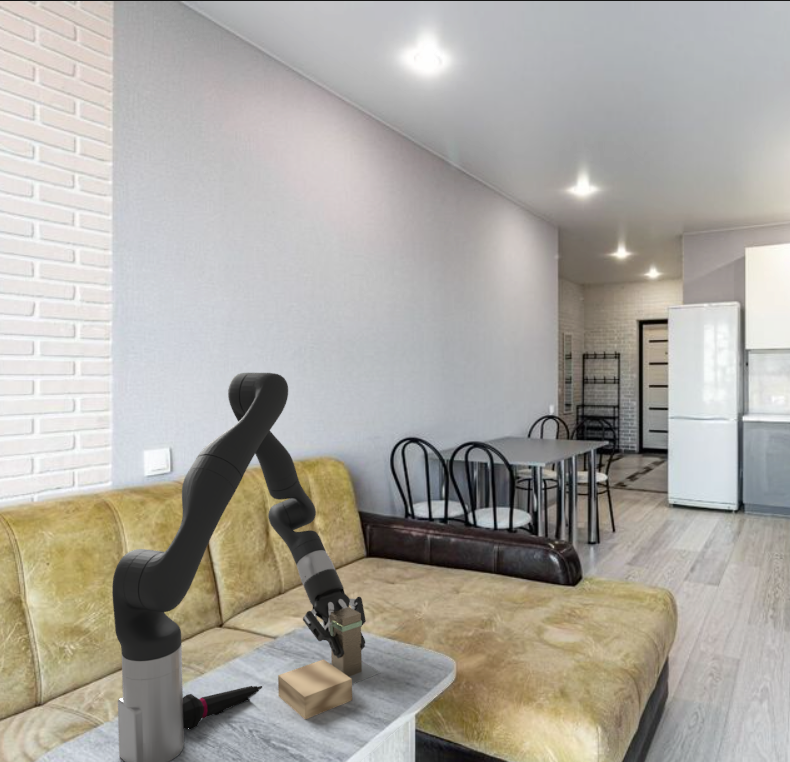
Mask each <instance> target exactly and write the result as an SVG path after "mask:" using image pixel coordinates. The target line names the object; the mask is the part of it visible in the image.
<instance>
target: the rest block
mask: <svg viewBox="0 0 790 762" xmlns="http://www.w3.org/2000/svg"><path fill="white" fill-rule="evenodd" d="M330 663H331V662H328V661H326V660H325V659H320V660H317V661H316V662H312V663H309V664H306V665H303V666H301V667H298V668H296V669H292V670H289V671H285V672H283V673H280V674H278V675H277V683H278V684H277V685H278V689H277V690H278V692H277V693H278V698H280V699H281V700H282V701H283V702H284V703H285V704H287V706H289V707H290V708H291V709H292V710H294V711H295V712H296V713H297V714H298V715H299V716H300V717H302V718H303V719H304V720H308V719H310V718H312V717H315V716H317V715H319V714H323V713H324V712H327V711H330V710H332V709H334V708H337V707H339V706H342V705H344V704H347V703H350V702H351V701H352V700H353V684H352V679H351V678H350V677H348V676H347V675H346V674H344V673H343V672H341V671H340V670H338V669H337V668H335V667H334V666H333V665H331V664H330Z"/></svg>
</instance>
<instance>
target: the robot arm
mask: <svg viewBox="0 0 790 762" xmlns="http://www.w3.org/2000/svg"><path fill="white" fill-rule="evenodd" d="M227 396H228V397H227V398H228V402H229V405H230V408H231V410H232V412H233V414H234V416H235V419H237V423H235V424H234V425H233V426H232V427H230V428H229V429H227V430H226V431H224V432H223V433H222V434H220V435H219V436H217V437H216V438H214V439H213V440H212V441H210V442H209V443H208V444H207V445H206V446H204V448H203V449H201V451H200V452H199V453H198V455H197V456H196V458H195V460H194V462H193V463H192V465H191V466H190V469H189V470H188V472H187V473H186V475H185V476H184V479H183V482H182V487H181V504H182V505H181V506H182V518H181V522H180V526H179V528H178V530H177V532H176V534H175V536H174V538H173V539H172V541H171V543H170V544H169V546H168V548H166V550H165V551H163V550H162V551H161V550H153V549H144V548H136V549H133V550H131V551H128V552H127V553H126V554H124V555H123V556H122V557H121V559H120V560H118V563H117V564H116V567H115V570H114V574H113V578H112V585H111V587H112V588H111V589H112V595H111V596H112V605H113V607H112V608H113V617H114V628H115V635H116V638H117V641H118V642H119V645H120V646H121V678H122V680H121V681H122V682H121V683H122V686H121V687H122V697H119V698H118V700H117V720H118V721H117V723H118V755H119V756H118V757H119V758H121V760H123V761H124V762H171V761H172V760H174V759H175V758H177V757H178V756H179V755H180V754H181V752H182V751H183V749H184V746H185V740H184V739H185V729H184V726H183V697H184V694H183V689H184V688H183V657H182V655H183V654H182V652H183V651H182V647H183V646H182V630H181V628H180V626H179V624H178V623H177V622H175V620H173V619H172V618H170V617H169V616H168V615H167V614H166V613H167V612H170V611H172V610H174V609H175V608H177V607H178V606H179V605H180V604H181V602H183V600H184V598H185V596H186V595H187V594H188V592H189V589H190V588H191V585H192V584H193V581H194V579H195V576H196V574H197V572H198V570H199V567H200V565H201V562H202V560H203V557H204V555H205V553H206V550H207V547H208V545H209V543H210V540H211V538H212V537H213V535H214V532H215V530H216V528H217V526H218V525H219V523H220V520H221V518H222V516H223V514H224V512H225V510H226V508H227V507H228V505H229V503H230V501H231V500H232V498H233V496H234V495H235V493H236V491H237V489H238V488H239V485H240V483H241V482H242V479H243V478H244V475H245V473H246V471H247V469H248V468H249V465H250V464H251V462H252V461H253V458H254V457H255V456H256V458H257V462H258V463H259V465H260V468H261V469H260V470H261V472H262V475H263V479H264V481H265V483H266V487H267V491H268V493H269V495H270V496H271V497H272V498H273V499H274V500H279V502H278V503H276V504H274V505H272V506H271V507H270V508H269V511H268V514H267V517H268V521H269V524H270V525H271V527H272V529H273V530H274V531H275V532H276V533H277V535H278V536H279V537H280V538H281V539H282V540H283V542H284V543H285V544H286V546H287V548H288V550H289V551H290V553H291V556H292V559H293V560H294V562H295V565H296V568H297V571H298V576H299V578H300V582H301V583H302V585H303V588H304V590H305V593H306V596H307V597H308V600H309V603H310V604H311V605H312V609H311V610H308V611H307V612H306V613H305V614H304V616H303V618H302V621H303V623H305V625H306V626H307V627H308V629H309V630H310V631H311V633H312V635H313V636H314V637H315V638H316V640H317V641H318V642H322V641H326V642H328V644H329V647H330V649H332V652H333V654H334V655H335V656H337V658H341V657H342V656H343V655H344V650H343V648H342V646H341V644H340V641H339V639H338V637H337V636H335V635H336V632H335V629H334V627H333V626H332V624H333V623H332V618H331V612H334V611H337V610H340V609H344V608H347V607H350V608H352V609H353V610H355V611H357V612H359V613H361V621H362V626H363V625H364V624H365V623H366V621H367V620H366V615H365V609H364V604H363V599H362V597H361V596H357V597H356V598H350V597H349V596H348V595H347V594H346V593H345V590H344V589H345V588H344V586H343V583H342V581H341V578H340V577H339V573H338V572H337V570H336V568H335V565H334V563H333V561H332V560H331V559H332V558H331V557H330V556H329V555H328V552H327V551H326V548H325V547H324V544H323V541H322V540H321V537H320V535H319V533H318V532H316V530H312V529H311V530H310V529H309V530H303V531H295V530H298V529H299V528H302V527H305V526H307V525H310V524H311V523H312V522H313V521H314V520H315V518H316V513H317V512H316V508H315V507H316V506H315V504H314V503H313V501H312V500H311V498H310V497H309V496H308V494H307V493H306V492H305V490H304V489H303V487H302V484H301V483H300V479H299V477H298V473H297V469H296V465H295V463H294V460H293V458H292V456H291V454H290V453H289V451H288V450H287V448H286V447H285V446H284V445H283V443H282V442H281V441H279V439H278V438H277V437H276V436H275V435H274V433H272V431H271V430H272V428H273V426H274V425H275V424H276V422H277V420H278V419H279V418H280V417H281V415H282V413H283V411H284V410H285V407H286V404H287V401H288V397H289V385H288V382H287V380H286V379H285V377H284V376H282V375H281V374H279V373H275V372H241V373H237V374H236V375H234V376H233V377H232V379H231V380H230V382H229V385H228V389H227ZM280 500H281V501H282V500H284V501H282V502H281V501H280ZM318 618H319V619H320V620H321V621H322V623H321V622H320V621H319V619H318ZM362 626H361V628H362ZM365 647H366V639H365V638H364V635H363V633H362V632H361V651H363V650H364V648H365Z"/></svg>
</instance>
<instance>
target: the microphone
mask: <svg viewBox="0 0 790 762" xmlns="http://www.w3.org/2000/svg"><path fill="white" fill-rule="evenodd" d="M261 689H263V685H260V686H257V685H250V686H246V687H239V688H237V689H232V690H228V691H224V692H219V693H215V694H212V695H211V694H210V695H206V696H202V697H200V698H198V697H196V696H195V695H194V694H192V693H189V694H186V695H183V726H184V730H189V729H191V730H193V729H196V728H197V727H198V726H199V723H200V722H201V721H202V719H205V718H209V717H210V716H213V715H215V716H218V715H220V714H222V713H224V711H225V710H228V709H230V708H233V707H235V706H238V705H240V704H243V703H246V702H248V701H249V700H250V698H249V697H251V696H253V695H254V694H256V693H258V692H260V690H261ZM188 728H189V729H188Z"/></svg>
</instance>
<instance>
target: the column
mask: <svg viewBox="0 0 790 762" xmlns="http://www.w3.org/2000/svg"><path fill="white" fill-rule="evenodd" d="M331 618H332V623H333V624H332V626H333V627H334V629H335V632H336V635H335V636H337V637H338V639H339V641H340V644H341V646H342V648H343V650H344V655H343V656H342V657H341V658H337V656H335V655H334V654H333V652H332V649H331V648H330V649H331V651H330V652H331V657H330V658H331V663H332V665H333V666H334V667H335V668H337V669H338V670H340V671H341V672H343V673H344V674H346V675H347V676H348V677H349V676H352V675H355V674H357V673H360V672H362V661H363V660H362V650H361V633H362V627H361V626H363V625H362V621H361V613H359V612H357V611H355V610H353V609H352V608H351V606H349V607H347V608H344V609H340V610H337V611H334V612H331Z"/></svg>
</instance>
